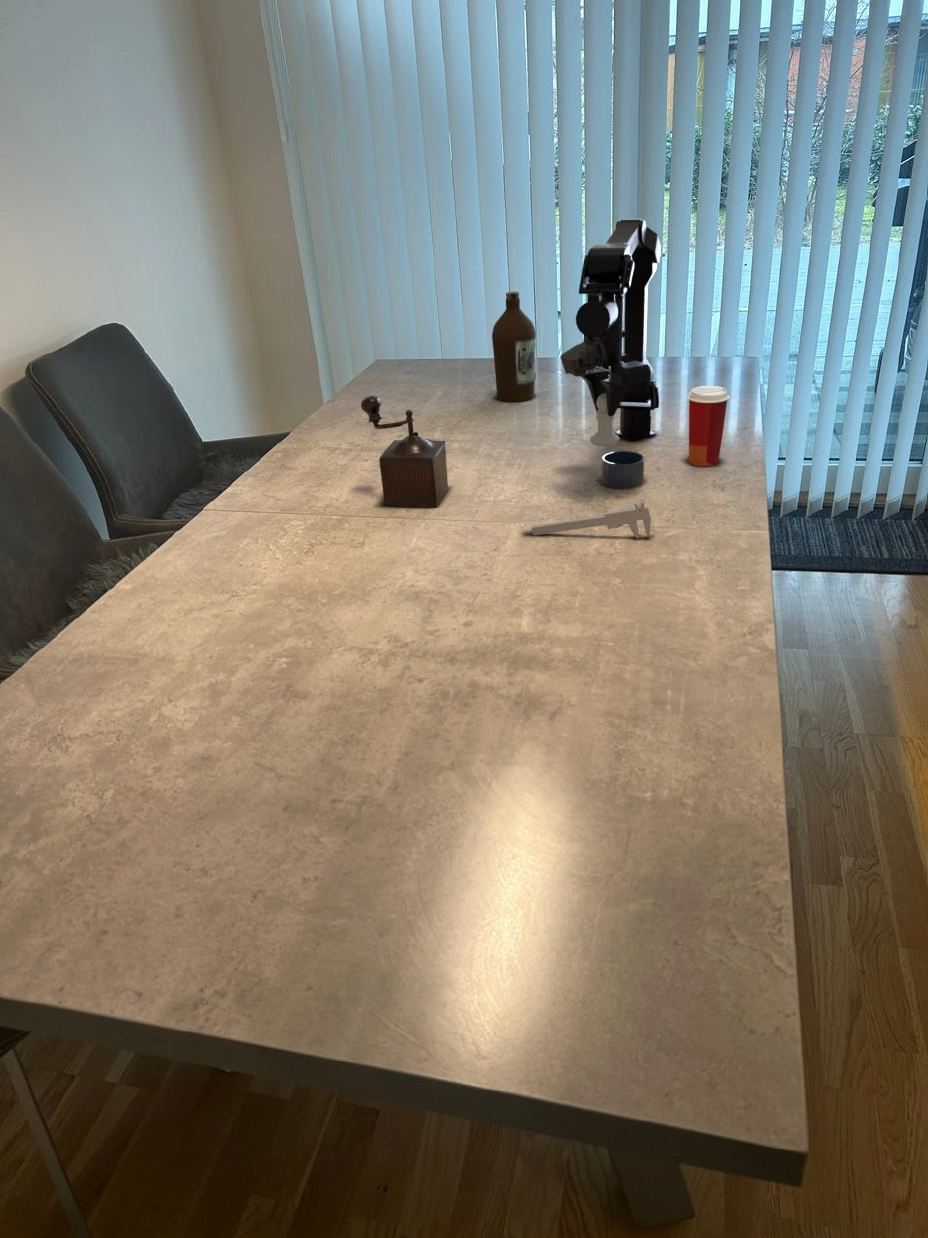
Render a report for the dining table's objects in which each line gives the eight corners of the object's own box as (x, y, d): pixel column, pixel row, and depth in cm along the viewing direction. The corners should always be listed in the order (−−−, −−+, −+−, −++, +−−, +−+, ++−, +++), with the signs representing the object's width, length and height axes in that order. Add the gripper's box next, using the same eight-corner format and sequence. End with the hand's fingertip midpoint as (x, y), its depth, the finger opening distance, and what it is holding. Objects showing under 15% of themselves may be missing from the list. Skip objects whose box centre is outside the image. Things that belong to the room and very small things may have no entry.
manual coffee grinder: (451, 486, 170) (444, 392, 162) (437, 507, 161) (430, 409, 152) (373, 484, 174) (363, 392, 165) (356, 506, 164) (344, 409, 155)
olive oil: (485, 398, 224) (481, 294, 212) (514, 389, 230) (511, 287, 218) (516, 405, 217) (513, 297, 205) (545, 395, 223) (544, 290, 211)
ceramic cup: (593, 479, 169) (593, 456, 167) (626, 471, 172) (627, 448, 170) (618, 491, 163) (618, 467, 161) (651, 482, 166) (652, 458, 164)
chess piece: (624, 440, 164) (626, 391, 160) (608, 448, 161) (608, 398, 157) (601, 435, 168) (601, 388, 163) (584, 443, 164) (584, 394, 160)
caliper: (650, 536, 145) (651, 500, 142) (649, 539, 144) (651, 502, 141) (525, 532, 149) (525, 497, 146) (524, 535, 148) (524, 499, 145)
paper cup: (720, 454, 177) (726, 384, 170) (726, 467, 170) (733, 394, 164) (680, 455, 178) (684, 385, 171) (685, 468, 171) (689, 396, 165)
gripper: (538, 324, 158) (539, 410, 166) (600, 340, 144) (599, 434, 151) (589, 315, 163) (588, 400, 170) (655, 330, 148) (651, 422, 156)
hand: (605, 413), depth 162 cm, fingers closed on chess piece, 3 cm apart
